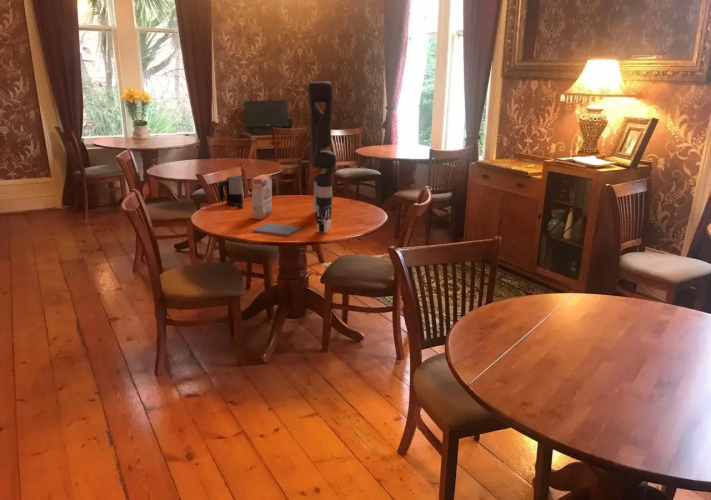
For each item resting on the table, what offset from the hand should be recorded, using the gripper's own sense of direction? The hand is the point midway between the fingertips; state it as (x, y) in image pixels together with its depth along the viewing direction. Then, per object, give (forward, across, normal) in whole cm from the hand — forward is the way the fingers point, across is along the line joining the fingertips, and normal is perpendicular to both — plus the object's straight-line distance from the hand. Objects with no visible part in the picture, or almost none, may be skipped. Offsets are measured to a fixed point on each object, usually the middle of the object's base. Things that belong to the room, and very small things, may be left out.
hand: (323, 229), depth 269 cm
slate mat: (0, +9, -20) cm, 22 cm away
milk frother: (+1, -26, -64) cm, 69 cm away
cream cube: (0, 0, 0) cm, 0 cm away
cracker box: (+1, -11, -39) cm, 41 cm away
